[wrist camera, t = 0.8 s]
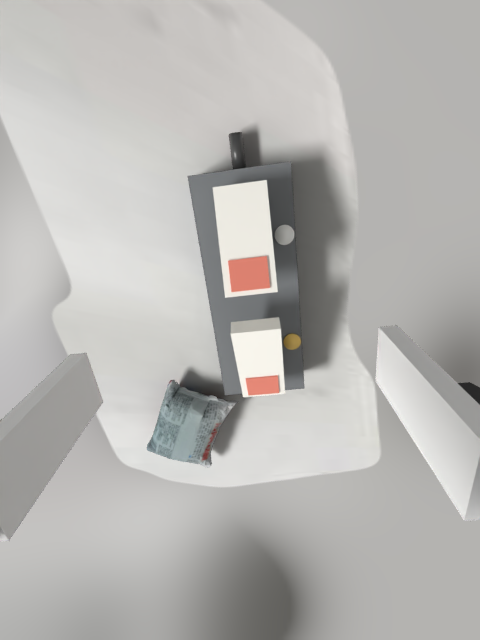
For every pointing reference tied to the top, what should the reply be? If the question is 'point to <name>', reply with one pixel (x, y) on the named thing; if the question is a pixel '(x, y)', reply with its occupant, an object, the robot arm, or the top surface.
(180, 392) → the packaged food
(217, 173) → the rocker switch box
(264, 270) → the rocker white
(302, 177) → the top surface
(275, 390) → the white switch paddle
